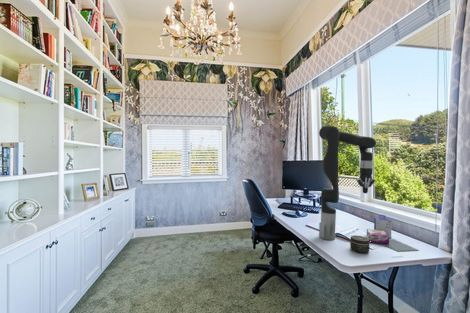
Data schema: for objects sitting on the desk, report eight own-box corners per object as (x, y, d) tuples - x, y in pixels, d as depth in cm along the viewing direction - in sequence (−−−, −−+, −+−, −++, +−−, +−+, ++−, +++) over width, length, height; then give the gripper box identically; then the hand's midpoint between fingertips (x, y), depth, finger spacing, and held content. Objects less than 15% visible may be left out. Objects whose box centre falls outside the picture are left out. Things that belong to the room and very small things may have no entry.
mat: (397, 251, 137) (397, 250, 137) (374, 240, 155) (374, 239, 155) (418, 250, 140) (418, 250, 140) (393, 239, 158) (393, 239, 158)
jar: (372, 255, 131) (372, 241, 131) (353, 253, 132) (353, 240, 132) (365, 248, 141) (365, 235, 141) (347, 246, 142) (348, 234, 142)
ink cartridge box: (388, 235, 166) (389, 215, 166) (391, 238, 161) (392, 217, 161) (373, 234, 169) (373, 214, 168) (375, 236, 163) (376, 216, 163)
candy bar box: (369, 234, 151) (366, 228, 166) (369, 241, 150) (366, 235, 165) (389, 236, 146) (384, 230, 161) (389, 244, 146) (384, 237, 161)
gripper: (361, 167, 152) (360, 194, 152) (379, 168, 154) (378, 194, 154) (353, 166, 160) (352, 192, 160) (370, 167, 162) (369, 192, 162)
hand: (365, 193), depth 157 cm, fingers closed
